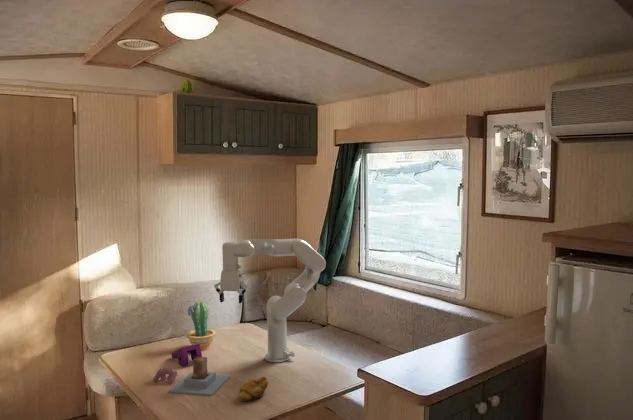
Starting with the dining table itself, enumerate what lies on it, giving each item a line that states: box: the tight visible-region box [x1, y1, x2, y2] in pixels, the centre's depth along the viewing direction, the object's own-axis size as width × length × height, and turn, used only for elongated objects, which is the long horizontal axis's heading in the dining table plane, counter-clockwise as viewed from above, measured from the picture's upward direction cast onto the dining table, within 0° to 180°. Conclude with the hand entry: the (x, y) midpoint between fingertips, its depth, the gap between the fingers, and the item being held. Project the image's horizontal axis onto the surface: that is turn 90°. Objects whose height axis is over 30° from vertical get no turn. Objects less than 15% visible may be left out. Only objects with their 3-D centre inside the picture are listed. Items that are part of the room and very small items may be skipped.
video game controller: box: [153, 367, 178, 385], centre depth 230 cm, size 10×5×7 cm, turn 72°
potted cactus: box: [186, 300, 216, 351], centre depth 275 cm, size 15×15×25 cm
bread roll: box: [238, 376, 269, 402], centre depth 213 cm, size 13×10×8 cm
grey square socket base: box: [168, 371, 231, 397], centre depth 226 cm, size 20×20×4 cm
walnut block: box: [192, 356, 208, 380], centre depth 226 cm, size 4×4×11 cm
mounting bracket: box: [170, 344, 203, 368], centre depth 255 cm, size 10×8×18 cm
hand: (231, 302), depth 250 cm, fingers open, 9 cm apart
